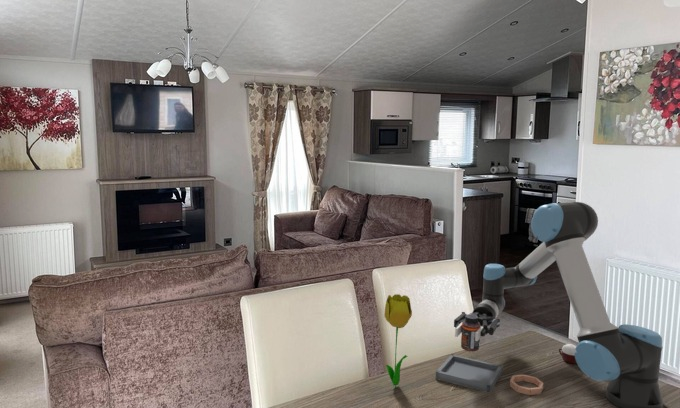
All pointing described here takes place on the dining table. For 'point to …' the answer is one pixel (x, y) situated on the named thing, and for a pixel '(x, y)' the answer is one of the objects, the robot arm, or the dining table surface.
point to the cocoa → (568, 353)
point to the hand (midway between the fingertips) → (466, 334)
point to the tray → (469, 373)
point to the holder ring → (523, 389)
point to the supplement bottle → (470, 333)
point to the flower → (397, 325)
